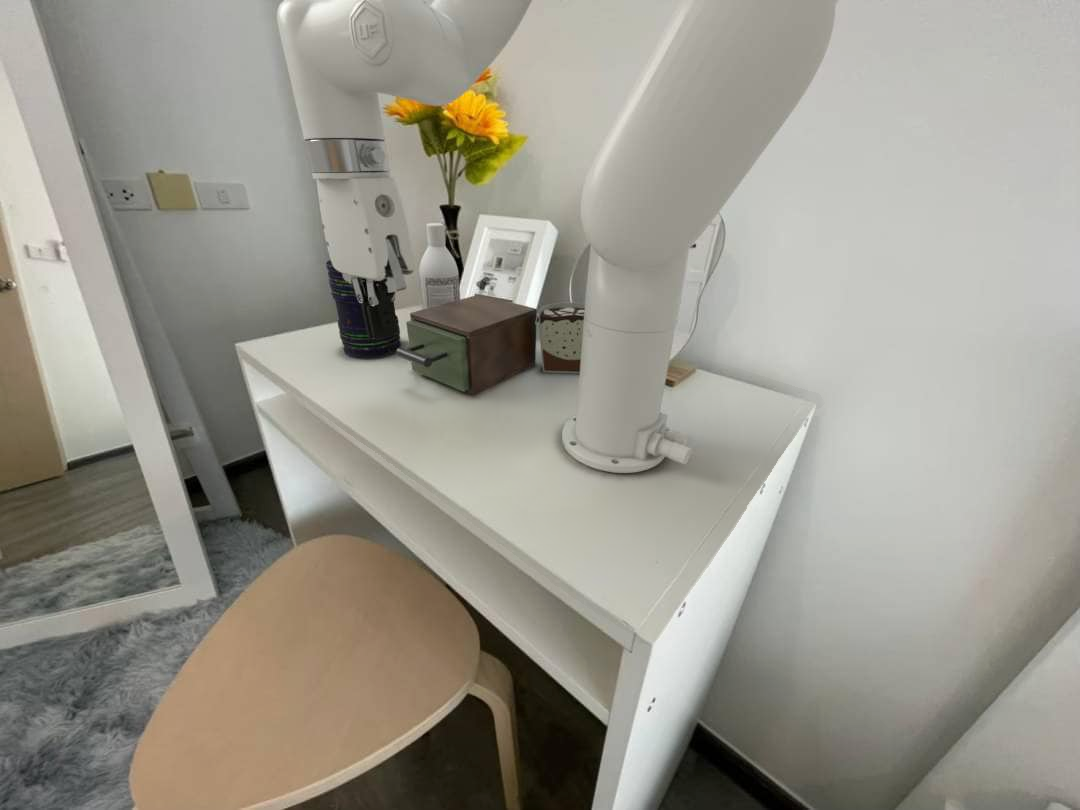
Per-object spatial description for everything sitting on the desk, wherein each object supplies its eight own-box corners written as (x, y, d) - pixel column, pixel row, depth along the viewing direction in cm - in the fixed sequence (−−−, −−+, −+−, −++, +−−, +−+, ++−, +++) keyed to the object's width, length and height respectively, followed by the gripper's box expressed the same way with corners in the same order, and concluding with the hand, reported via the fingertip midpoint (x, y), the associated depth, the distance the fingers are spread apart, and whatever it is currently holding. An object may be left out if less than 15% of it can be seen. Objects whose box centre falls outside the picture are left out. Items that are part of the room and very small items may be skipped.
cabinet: (473, 395, 63) (469, 332, 58) (416, 371, 69) (409, 312, 65) (535, 364, 73) (536, 308, 68) (481, 346, 80) (479, 294, 75)
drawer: (440, 402, 59) (435, 348, 55) (389, 378, 65) (381, 328, 61) (524, 363, 71) (524, 316, 68) (474, 346, 77) (472, 302, 74)
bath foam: (469, 336, 84) (463, 225, 75) (436, 343, 80) (425, 227, 71) (451, 326, 89) (443, 220, 79) (419, 333, 85) (407, 222, 75)
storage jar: (330, 355, 74) (310, 265, 67) (363, 336, 83) (349, 254, 75) (384, 362, 72) (369, 270, 65) (412, 341, 81) (401, 258, 74)
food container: (606, 359, 76) (612, 302, 71) (610, 374, 70) (617, 314, 66) (535, 357, 76) (536, 300, 71) (533, 371, 71) (535, 311, 66)
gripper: (426, 161, 43) (448, 338, 52) (343, 164, 51) (374, 316, 60) (358, 160, 38) (394, 357, 47) (278, 164, 46) (321, 331, 55)
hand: (383, 334), depth 53 cm, fingers closed
